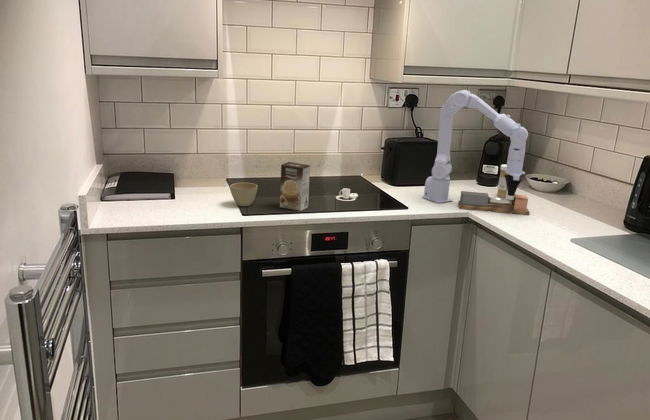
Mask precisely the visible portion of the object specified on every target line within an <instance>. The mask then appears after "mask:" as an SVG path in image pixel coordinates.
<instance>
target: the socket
mask: <svg viewBox="0 0 650 420" xmlns="http://www.w3.org/2000/svg"><path fill="white" fill-rule="evenodd" d="M513 199H515V203H514V206H512V207H513V209H514V210H521V211H526V209H528V203H529V198H528V196H527V195H525V194H516V193H515V194H514V198H513Z"/></svg>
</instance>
